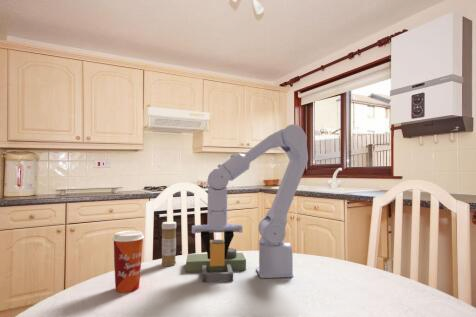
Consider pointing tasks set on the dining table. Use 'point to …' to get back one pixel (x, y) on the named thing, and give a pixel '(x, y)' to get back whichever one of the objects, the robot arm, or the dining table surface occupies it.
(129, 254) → the paper cup
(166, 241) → the sprinkles bottle
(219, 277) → the green block with knob
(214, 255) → the chute block
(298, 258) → the dining table surface
